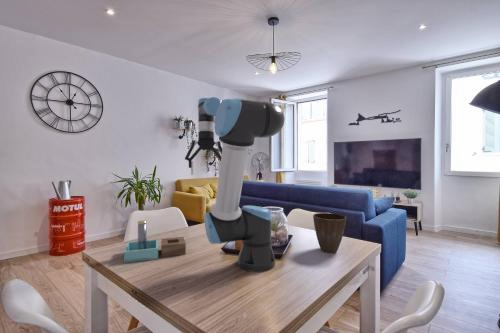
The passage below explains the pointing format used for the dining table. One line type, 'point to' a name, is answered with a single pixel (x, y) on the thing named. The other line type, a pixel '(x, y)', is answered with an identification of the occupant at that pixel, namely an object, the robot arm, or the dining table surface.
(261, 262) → the robot arm
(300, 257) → the dining table surface
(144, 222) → the steel pin
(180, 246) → the block
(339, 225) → the plant pot
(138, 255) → the pin tray
